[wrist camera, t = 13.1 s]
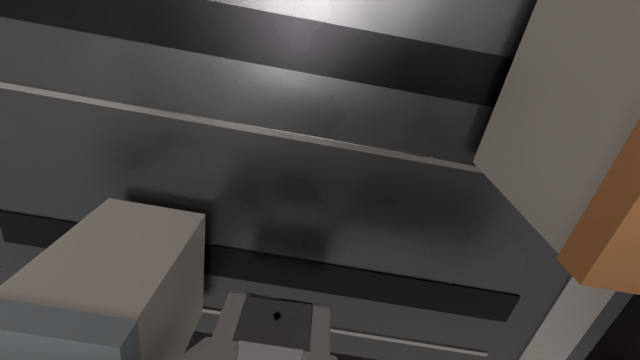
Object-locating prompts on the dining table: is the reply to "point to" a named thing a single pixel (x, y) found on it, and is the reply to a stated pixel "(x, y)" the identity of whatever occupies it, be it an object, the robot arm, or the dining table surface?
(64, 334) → the fader
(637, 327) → the dining table surface
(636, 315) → the dining table surface
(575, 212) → the fader
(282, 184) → the console
